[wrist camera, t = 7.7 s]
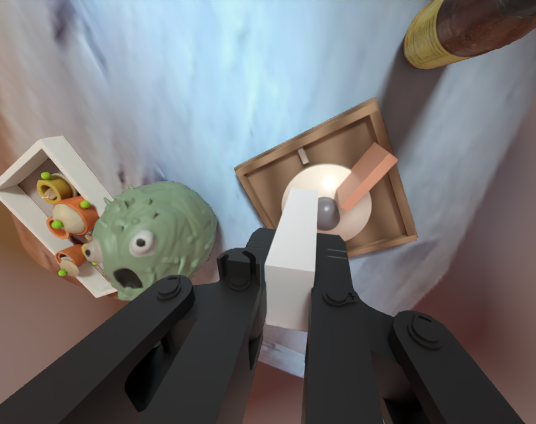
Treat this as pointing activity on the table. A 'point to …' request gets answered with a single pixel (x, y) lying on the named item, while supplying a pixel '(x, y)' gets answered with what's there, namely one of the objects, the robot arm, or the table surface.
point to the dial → (343, 191)
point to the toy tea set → (67, 219)
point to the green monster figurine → (152, 236)
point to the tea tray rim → (33, 215)
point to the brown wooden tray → (340, 152)
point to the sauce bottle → (465, 29)
